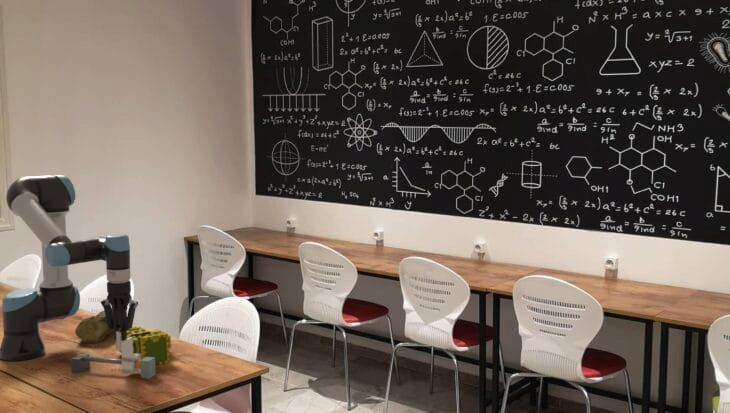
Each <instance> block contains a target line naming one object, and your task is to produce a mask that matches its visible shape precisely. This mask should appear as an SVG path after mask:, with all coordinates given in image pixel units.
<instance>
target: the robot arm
mask: <svg viewBox="0 0 730 413" xmlns="http://www.w3.org/2000/svg"><path fill="white" fill-rule="evenodd" d="M5 199H6V204H7V207H8V209H10V211H11V212H12V213H13V214H14V215H15V216H16V217H20V218H21V220H22V221H23V222H24V223H25V225H26V226H27V227H28V228H29V229H30V231H31V232H32V233H33V234H34V235H35V236H36V238H37V239H38V240H39V241H40V243H41V256H42V258H41V259H42V260H41V261H42V273H43V274H42V277H43V280H42V281H41V282H40V283H39V284H38V285H39V286H38V287H39V291H38V290H37V289H36V288H33V287H32V288H31V287H28V288H21V289H16V290H12V291H10V292H8V293H7V294H5V295H4V296H3V298H2V299H1V300H2V302H1V311H2V312H1V314H2V328H3V329H2V330H3V337H2V340H1V344H0V360H3V361H9V362H19V361H27V360H33V359H36V358H38V357H41V356H43V355H45V353H46V348H45V347H46V345H45V344H44V342H43V339H42V336H41V334H40V328H39V324H42V323H47V322H51V321H57V320H64V319H66V318H70V317H73V316H75V315H76V314H77V312H78V311H79V308H80V304H81V295H80V293H79V289H78V288H77V286H76V285H74V282H73V281H72V280H71V279H70V278H69V270H68V269H69V268H68V267H69V266H71V265H76V264H81V263H89V262H95V261H96V262H97V261H105V264H106V265H105V268H106V281H107V283H106V290H107V296H106V298H105V299H103V300H100V304H101V306H102V307H103V308H102V309H103V311H105V315H106V319H107V323H108V327H109V329H113V330H112V331H113V333H114V341H115V342H116V341H117V349H116V351H118V352H119V351H121V341H123V340H125V339H127V330H129V329H131V328H132V327H133V324H134V319H135V318H134V317H135V314H136V309H137V307H138V305H139V302H138V301H137V300H136V301H135V300H134V299H132V298H133V297H132V295H131V290H132V288H131V283H132V281H131V245H130V238H129V235H127V234H125V233H124V234H121V233H112V234H108V235H106V237H103V236H92V237H90V238H88V239H80V240H71V239H70V238H69V236H68V235H67V224H66V223H67V222H66V216H67V214H68V213H70V207H71V206H73V205H74V204H75V201H76V189H75V186H74V183H73V182H72V181H71V179H70V178H69V177H67V176H66V175H64V174H49V175H36V176H35V175H34V176H23V177H20V178H18V179H16V180H15V181H14V182H12V183H11V184H10V185H9V187H8V190H7V192H6V198H5ZM112 311H113V312H112Z"/></svg>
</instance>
